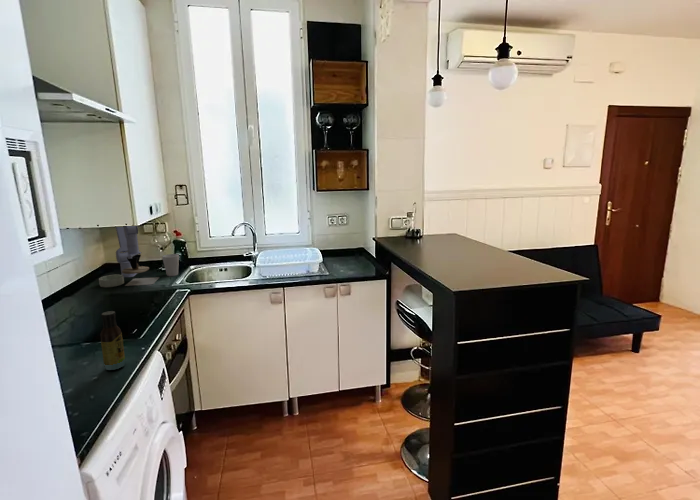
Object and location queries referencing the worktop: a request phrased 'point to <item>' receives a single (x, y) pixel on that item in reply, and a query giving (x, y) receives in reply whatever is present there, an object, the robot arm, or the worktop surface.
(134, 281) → the mat
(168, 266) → the foam cup
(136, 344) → the worktop surface
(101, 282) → the bowl
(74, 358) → the worktop surface
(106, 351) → the sauce bottle
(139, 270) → the lid
